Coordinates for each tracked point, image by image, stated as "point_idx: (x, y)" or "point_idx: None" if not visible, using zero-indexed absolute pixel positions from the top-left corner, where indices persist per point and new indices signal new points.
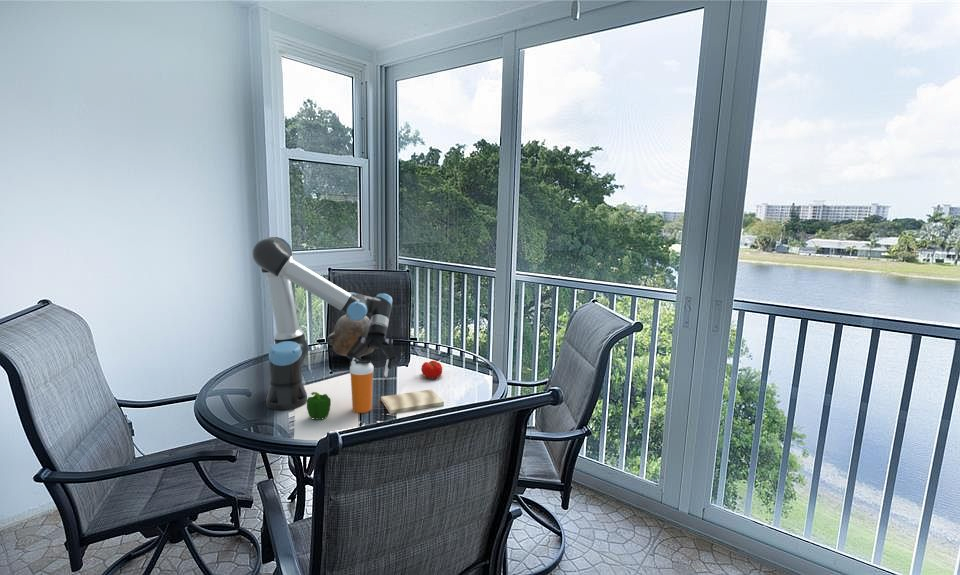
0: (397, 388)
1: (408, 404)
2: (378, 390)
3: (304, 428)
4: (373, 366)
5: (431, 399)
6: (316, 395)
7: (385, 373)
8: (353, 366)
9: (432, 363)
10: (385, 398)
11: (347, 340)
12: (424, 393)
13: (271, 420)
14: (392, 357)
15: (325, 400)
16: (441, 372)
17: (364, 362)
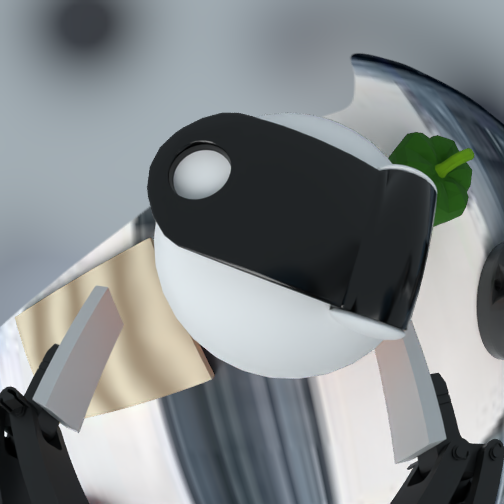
0: (178, 474)
1: None
2: (248, 462)
3: (405, 127)
4: (155, 261)
5: (39, 339)
6: (459, 187)
7: (95, 291)
8: (372, 148)
9: None
10: (187, 358)
11: None
12: None
13: (493, 180)
14: (12, 419)
15: (409, 149)
16: None
17: (233, 114)
